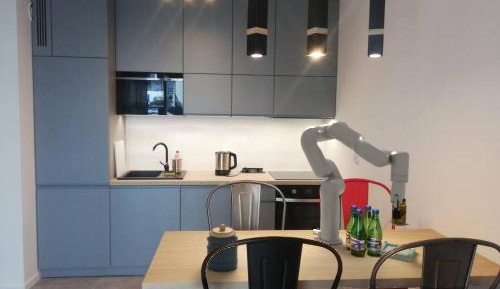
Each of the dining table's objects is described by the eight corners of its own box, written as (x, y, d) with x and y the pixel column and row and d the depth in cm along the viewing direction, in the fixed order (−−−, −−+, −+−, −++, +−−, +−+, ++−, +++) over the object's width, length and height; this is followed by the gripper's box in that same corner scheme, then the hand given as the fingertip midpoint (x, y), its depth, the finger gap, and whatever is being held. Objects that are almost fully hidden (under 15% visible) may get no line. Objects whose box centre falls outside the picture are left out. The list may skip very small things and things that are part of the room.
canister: (207, 273, 138) (208, 229, 137) (205, 260, 151) (205, 220, 150) (240, 271, 141) (240, 228, 139) (235, 258, 153) (235, 219, 152)
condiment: (397, 226, 157) (398, 200, 156) (384, 221, 165) (385, 196, 164) (410, 225, 159) (411, 199, 158) (397, 220, 167) (398, 195, 166)
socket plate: (377, 254, 160) (377, 248, 160) (384, 246, 172) (384, 240, 171) (410, 261, 152) (410, 255, 152) (415, 252, 164) (415, 246, 164)
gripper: (394, 175, 169) (392, 212, 170) (386, 180, 155) (385, 220, 156) (411, 176, 165) (409, 214, 166) (404, 181, 151) (403, 222, 152)
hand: (397, 216), depth 161 cm, fingers closed on condiment, 6 cm apart
